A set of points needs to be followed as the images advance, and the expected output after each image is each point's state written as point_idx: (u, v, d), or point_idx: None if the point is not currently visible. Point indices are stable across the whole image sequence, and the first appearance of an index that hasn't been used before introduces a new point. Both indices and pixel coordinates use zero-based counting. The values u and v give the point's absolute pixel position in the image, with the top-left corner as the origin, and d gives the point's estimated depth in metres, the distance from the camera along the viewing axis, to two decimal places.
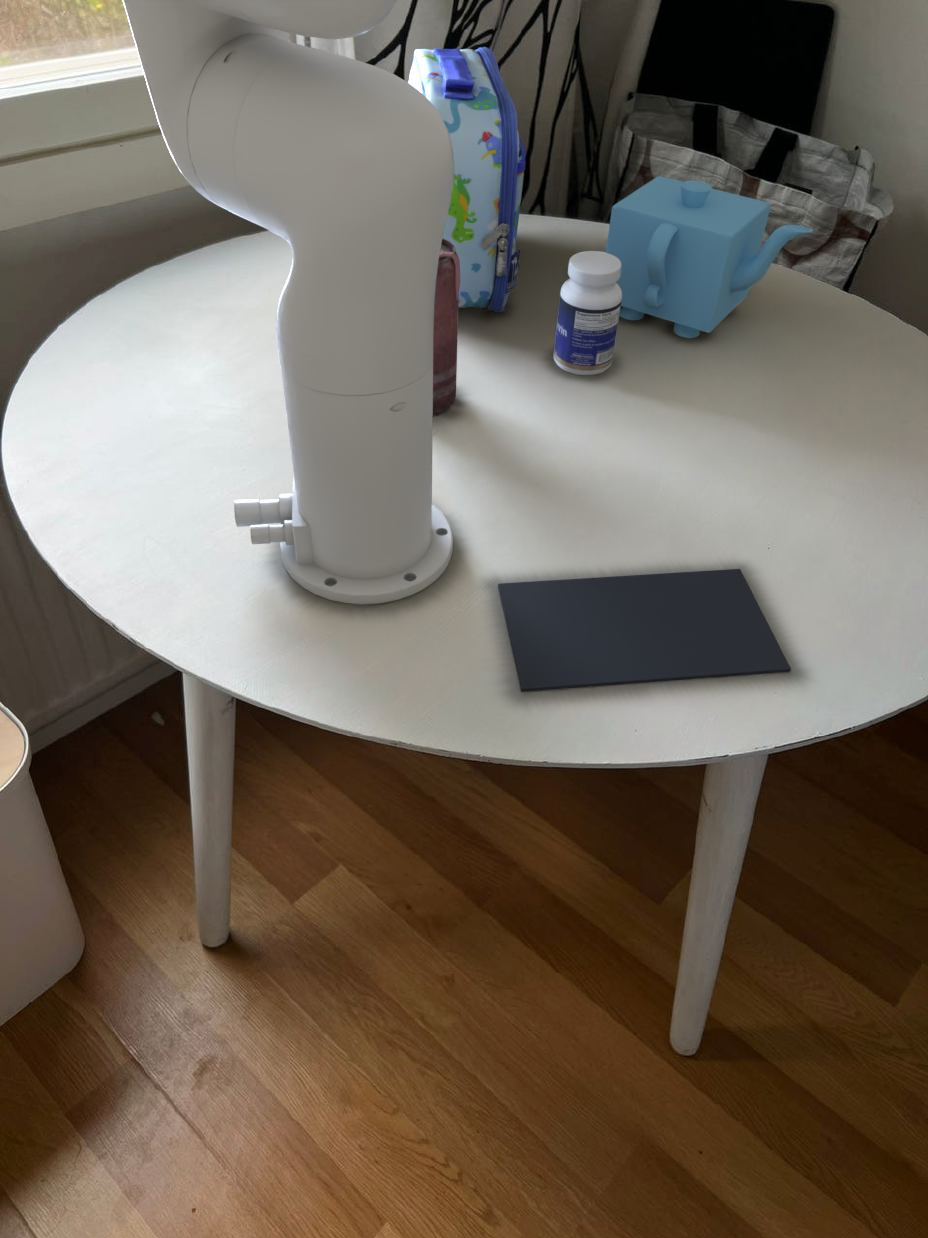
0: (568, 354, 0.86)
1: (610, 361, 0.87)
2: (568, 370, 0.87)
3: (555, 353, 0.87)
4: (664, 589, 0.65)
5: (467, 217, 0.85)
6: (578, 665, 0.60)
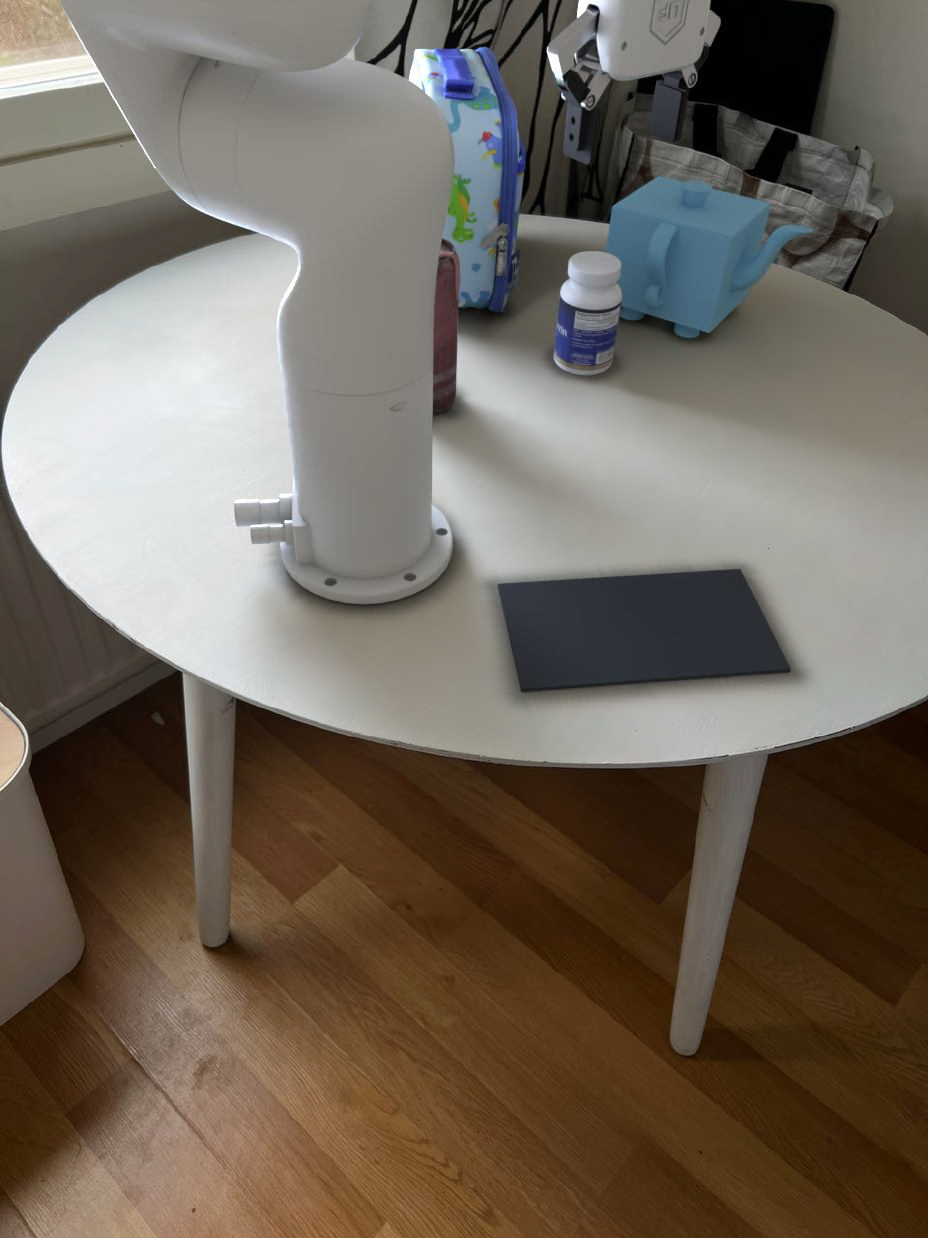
0: (568, 354, 0.86)
1: (610, 361, 0.87)
2: (568, 370, 0.87)
3: (555, 353, 0.87)
4: (664, 589, 0.65)
5: (467, 217, 0.85)
6: (578, 665, 0.60)
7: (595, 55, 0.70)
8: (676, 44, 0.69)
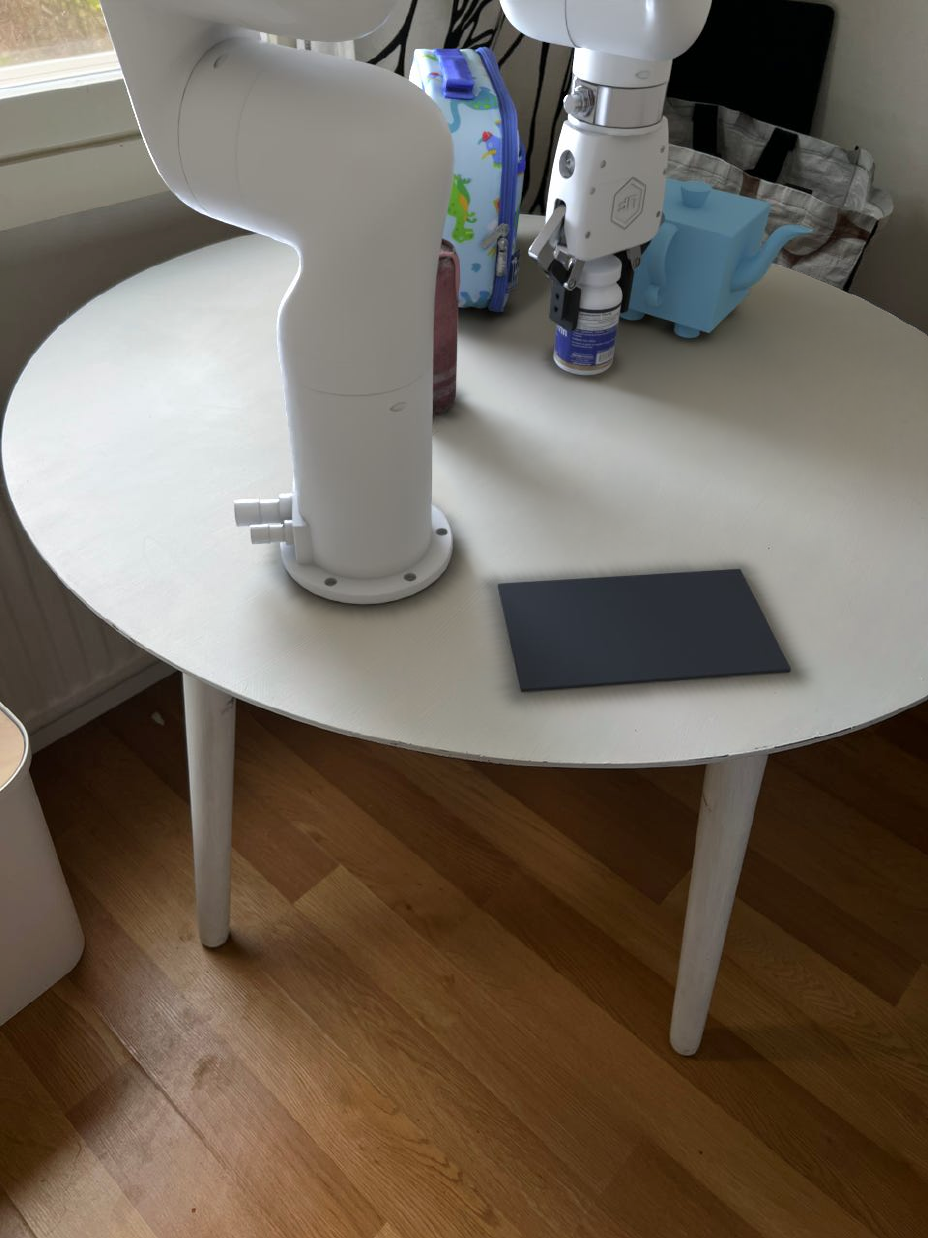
0: (568, 354, 0.86)
1: (610, 361, 0.87)
2: (568, 370, 0.87)
3: (555, 353, 0.87)
4: (664, 589, 0.65)
5: (467, 217, 0.85)
6: (578, 665, 0.60)
7: (563, 235, 0.79)
8: (635, 227, 0.78)
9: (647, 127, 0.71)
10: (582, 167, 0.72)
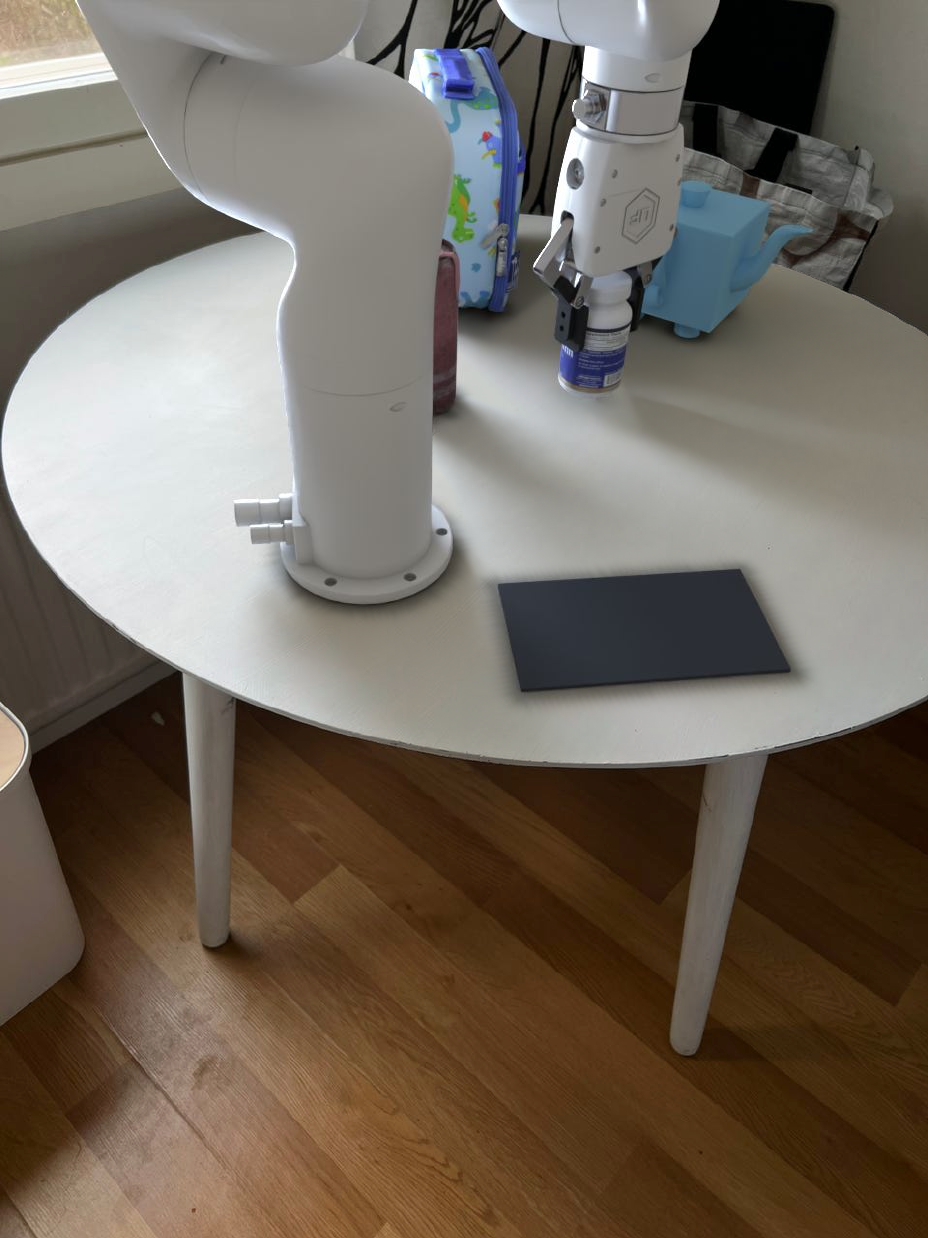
0: (574, 375, 0.80)
1: (619, 383, 0.82)
2: (574, 392, 0.81)
3: (560, 374, 0.82)
4: (664, 589, 0.65)
5: (467, 217, 0.85)
6: (578, 665, 0.60)
7: (570, 250, 0.74)
8: (647, 242, 0.73)
9: (662, 134, 0.66)
10: (592, 177, 0.67)
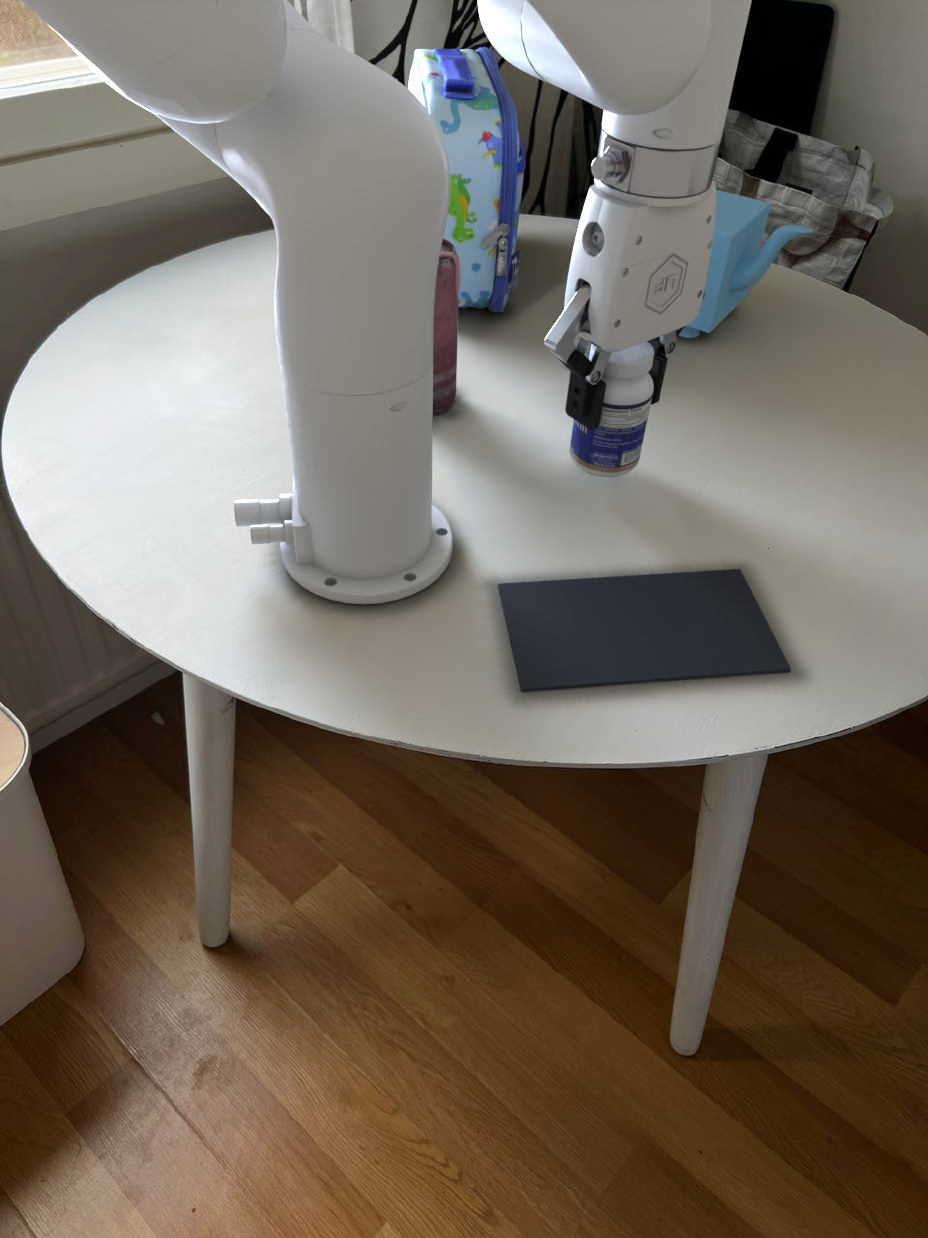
0: (588, 453, 0.72)
1: (637, 460, 0.73)
2: (587, 471, 0.73)
3: (572, 450, 0.73)
4: (664, 589, 0.65)
5: (467, 217, 0.85)
6: (578, 665, 0.60)
7: None
8: (672, 311, 0.64)
9: (694, 196, 0.57)
10: (613, 244, 0.58)
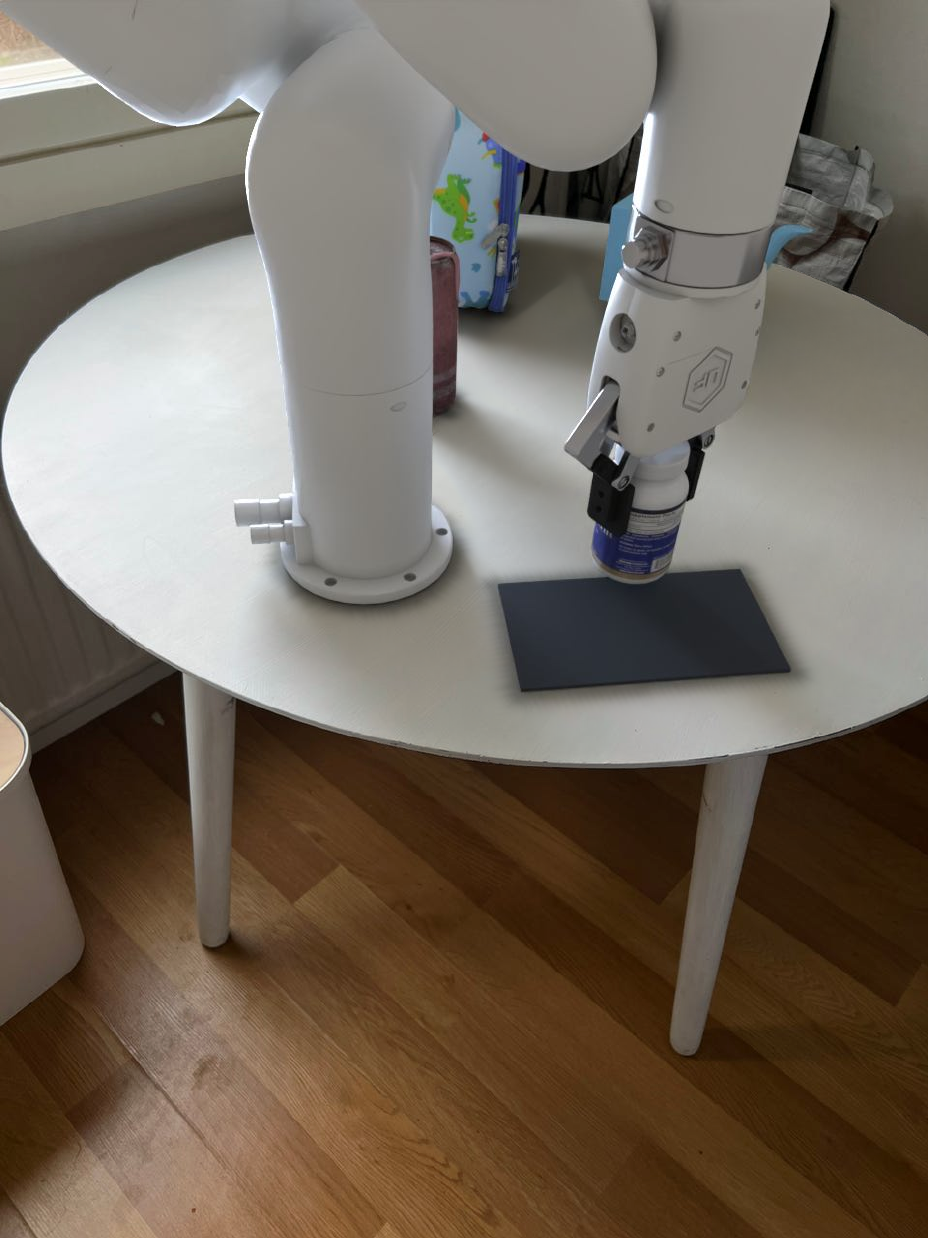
0: (614, 559, 0.63)
1: (669, 564, 0.64)
2: (612, 578, 0.64)
3: (594, 552, 0.64)
4: (664, 589, 0.65)
5: (467, 217, 0.85)
6: (578, 665, 0.60)
7: None
8: (713, 407, 0.55)
9: (744, 285, 0.48)
10: (647, 341, 0.49)
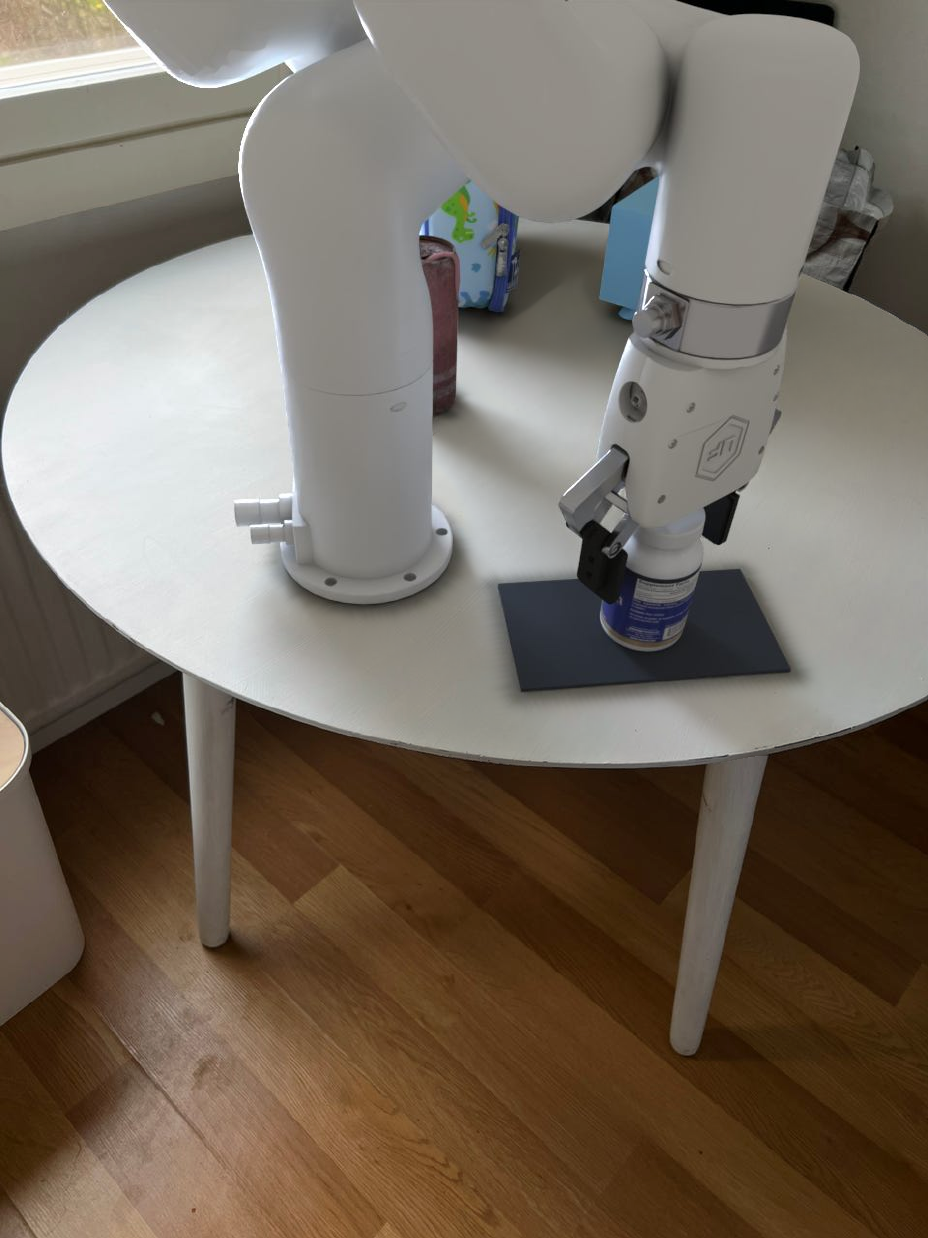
0: (624, 626, 0.60)
1: (682, 630, 0.61)
2: (622, 644, 0.61)
3: (603, 617, 0.61)
4: None
5: (467, 217, 0.85)
6: (578, 665, 0.60)
7: (621, 483, 0.53)
8: (728, 475, 0.52)
9: (762, 355, 0.45)
10: (659, 413, 0.46)
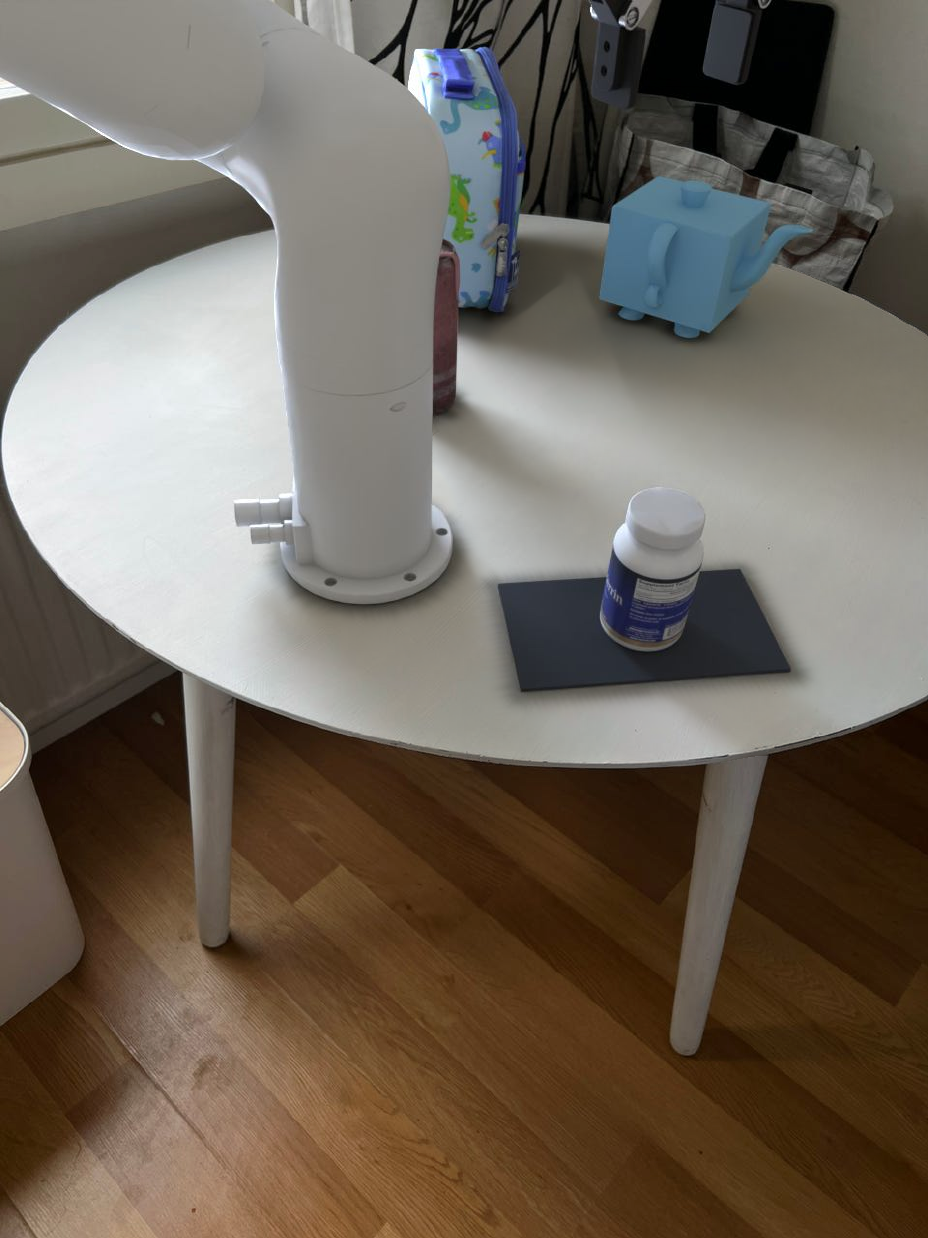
0: (624, 626, 0.60)
1: (682, 630, 0.61)
2: (622, 644, 0.61)
3: (603, 617, 0.61)
4: None
5: (467, 217, 0.85)
6: (578, 665, 0.60)
7: None
8: None
9: None
10: None
